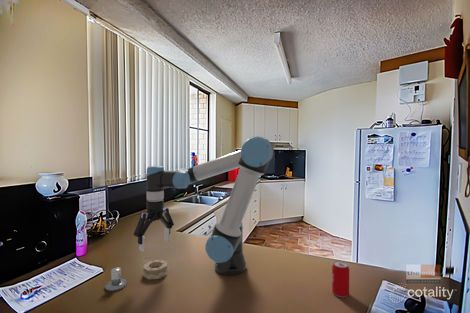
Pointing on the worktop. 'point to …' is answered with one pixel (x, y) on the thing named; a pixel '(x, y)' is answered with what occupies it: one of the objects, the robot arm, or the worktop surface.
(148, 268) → the ring
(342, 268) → the beverage can
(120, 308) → the worktop surface
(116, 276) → the post
